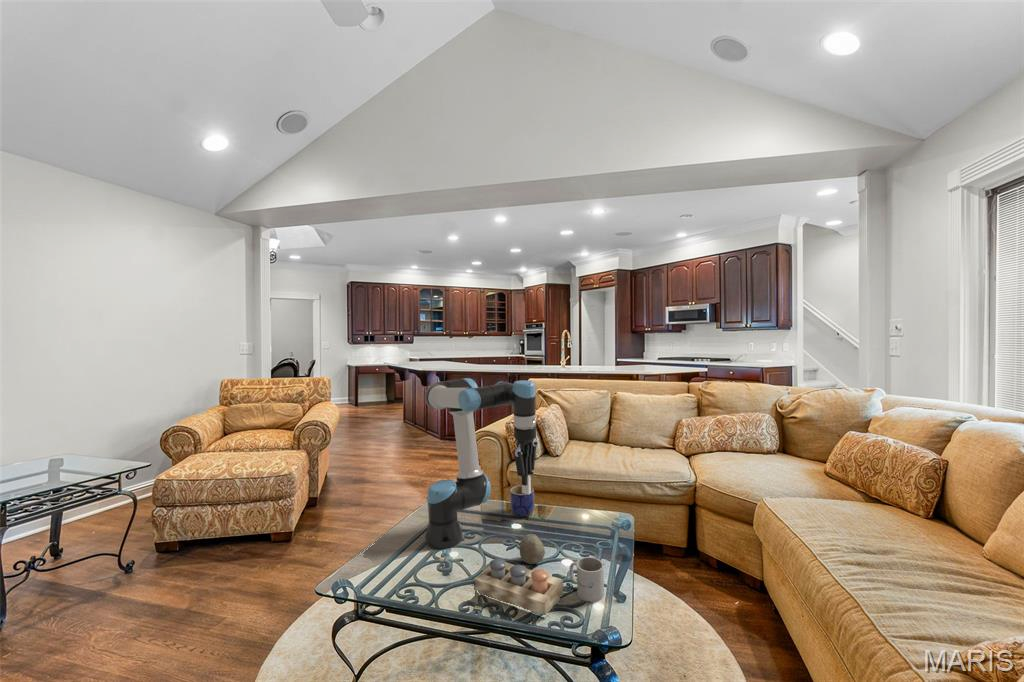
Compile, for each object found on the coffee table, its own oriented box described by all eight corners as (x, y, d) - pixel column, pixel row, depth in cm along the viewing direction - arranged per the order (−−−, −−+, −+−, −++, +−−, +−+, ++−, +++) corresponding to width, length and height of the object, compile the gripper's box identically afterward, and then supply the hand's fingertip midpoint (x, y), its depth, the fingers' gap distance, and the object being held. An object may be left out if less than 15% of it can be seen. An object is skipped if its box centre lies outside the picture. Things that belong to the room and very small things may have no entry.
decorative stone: (515, 558, 169) (514, 533, 169) (534, 552, 173) (534, 527, 172) (528, 572, 160) (527, 545, 159) (548, 565, 164) (547, 539, 163)
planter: (505, 514, 205) (504, 491, 204) (521, 505, 213) (520, 483, 212) (524, 521, 198) (523, 496, 197) (539, 512, 206) (538, 488, 205)
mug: (609, 594, 147) (609, 565, 146) (590, 605, 142) (589, 575, 141) (583, 576, 157) (582, 549, 156) (564, 586, 152) (563, 558, 151)
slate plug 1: (487, 585, 152) (486, 565, 151) (496, 576, 156) (495, 557, 156) (500, 589, 149) (500, 569, 148) (509, 580, 154) (508, 561, 153)
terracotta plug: (528, 597, 144) (528, 576, 143) (536, 587, 148) (536, 567, 148) (544, 602, 141) (543, 581, 140) (551, 592, 145) (550, 571, 145)
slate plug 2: (507, 592, 148) (506, 571, 147) (516, 583, 152) (515, 563, 152) (521, 597, 145) (521, 576, 144) (529, 587, 150) (529, 567, 149)
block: (475, 593, 150) (474, 579, 150) (496, 572, 161) (496, 559, 161) (545, 618, 136) (544, 603, 136) (563, 594, 148) (562, 579, 147)
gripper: (524, 433, 146) (526, 502, 148) (543, 422, 157) (544, 488, 159) (505, 430, 150) (507, 498, 152) (524, 420, 161) (526, 483, 163)
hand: (526, 492), depth 156 cm, fingers closed
